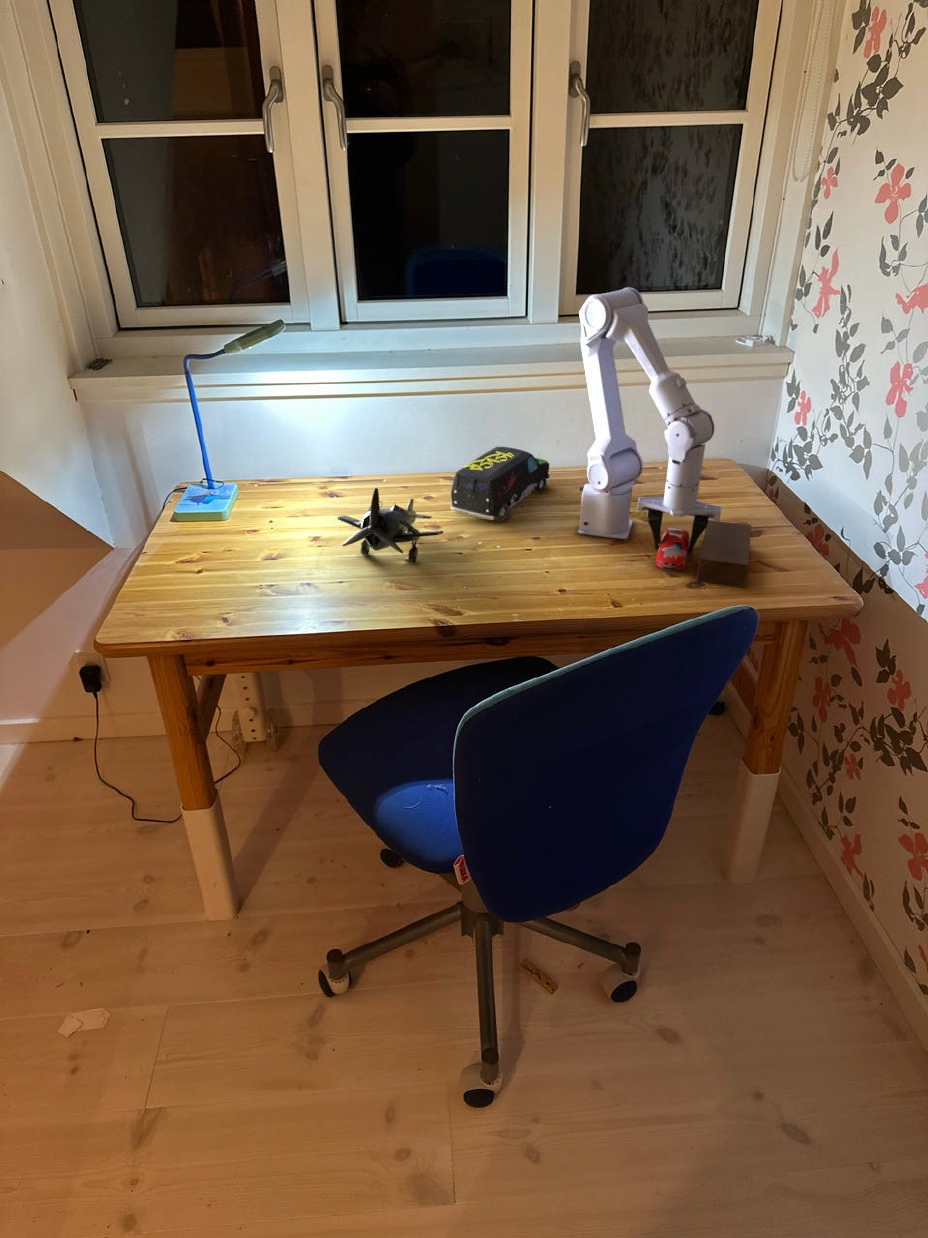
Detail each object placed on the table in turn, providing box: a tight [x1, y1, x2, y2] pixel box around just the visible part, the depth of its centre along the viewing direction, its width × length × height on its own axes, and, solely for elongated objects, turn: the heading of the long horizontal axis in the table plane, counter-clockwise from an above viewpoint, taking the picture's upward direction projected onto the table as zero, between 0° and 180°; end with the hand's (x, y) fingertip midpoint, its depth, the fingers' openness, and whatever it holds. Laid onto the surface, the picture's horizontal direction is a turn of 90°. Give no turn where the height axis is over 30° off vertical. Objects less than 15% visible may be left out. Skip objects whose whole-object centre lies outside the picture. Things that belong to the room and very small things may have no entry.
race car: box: [655, 527, 691, 571], centre depth 153 cm, size 13×5×4 cm, turn 161°
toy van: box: [450, 446, 551, 522], centre depth 174 cm, size 11×25×10 cm, turn 148°
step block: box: [696, 519, 752, 588], centre depth 151 cm, size 8×16×4 cm, turn 162°
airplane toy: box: [337, 487, 444, 565], centre depth 153 cm, size 20×19×15 cm
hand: (673, 549), depth 154 cm, fingers closed on race car, 5 cm apart
